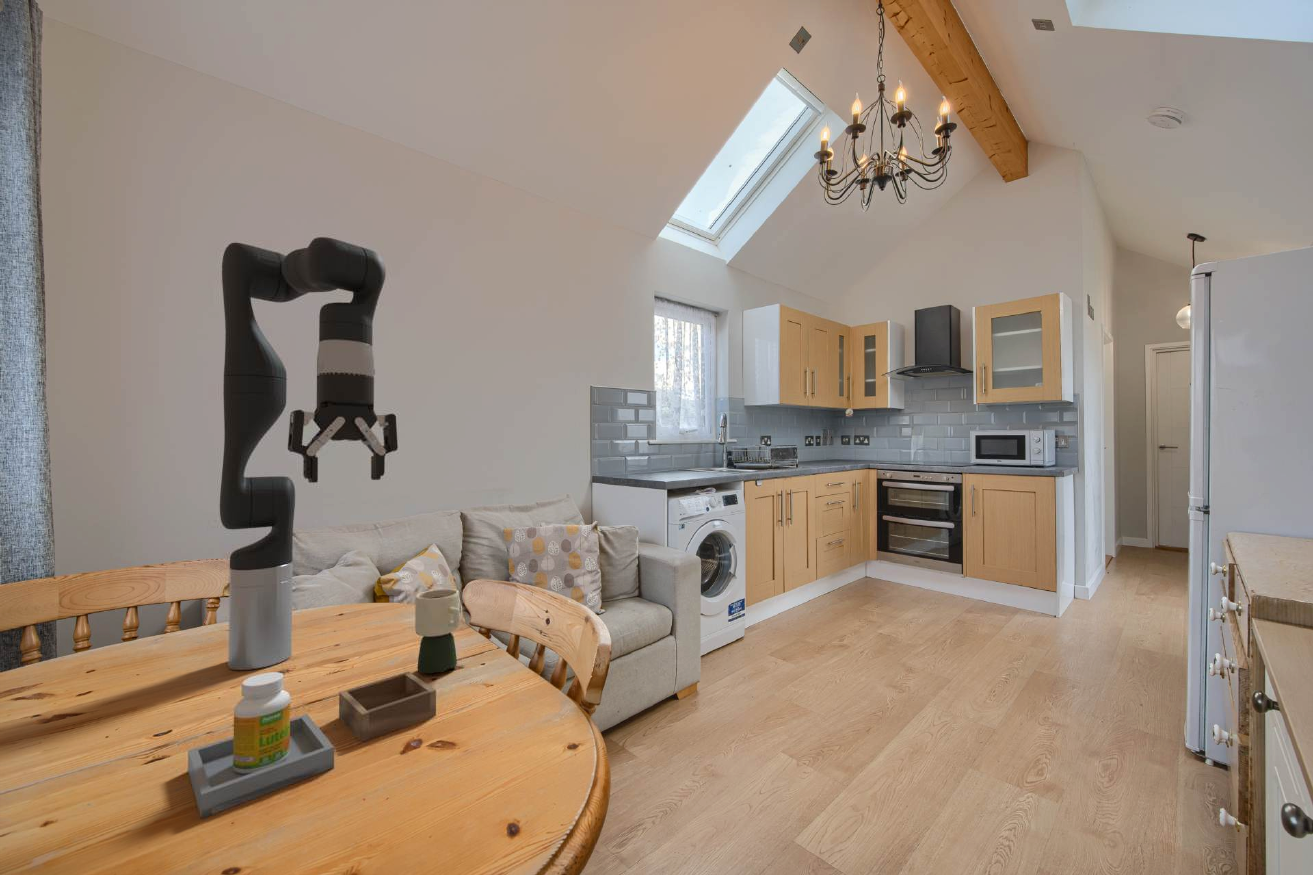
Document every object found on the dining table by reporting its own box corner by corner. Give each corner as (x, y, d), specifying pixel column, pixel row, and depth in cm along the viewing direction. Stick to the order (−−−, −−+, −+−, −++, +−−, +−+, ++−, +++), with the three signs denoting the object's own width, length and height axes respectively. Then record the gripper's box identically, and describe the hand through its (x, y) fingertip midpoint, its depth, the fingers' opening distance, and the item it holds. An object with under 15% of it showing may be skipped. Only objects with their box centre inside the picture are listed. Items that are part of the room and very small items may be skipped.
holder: (339, 717, 75) (339, 692, 75) (408, 694, 82) (409, 671, 82) (362, 742, 69) (362, 714, 69) (436, 715, 76) (436, 690, 76)
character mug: (475, 669, 92) (475, 593, 92) (439, 684, 86) (439, 603, 86) (435, 657, 98) (435, 585, 98) (399, 670, 92) (399, 594, 92)
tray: (187, 771, 63) (188, 750, 63) (306, 732, 71) (307, 713, 71) (201, 818, 54) (201, 794, 55) (334, 767, 63) (334, 747, 63)
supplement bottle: (259, 778, 60) (260, 690, 60) (220, 772, 61) (221, 686, 61) (300, 752, 65) (301, 671, 65) (264, 747, 66) (265, 668, 67)
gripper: (386, 380, 89) (386, 478, 88) (284, 372, 79) (282, 482, 78) (404, 376, 84) (403, 479, 83) (297, 365, 73) (296, 484, 73)
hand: (345, 481), depth 81 cm, fingers open, 8 cm apart
